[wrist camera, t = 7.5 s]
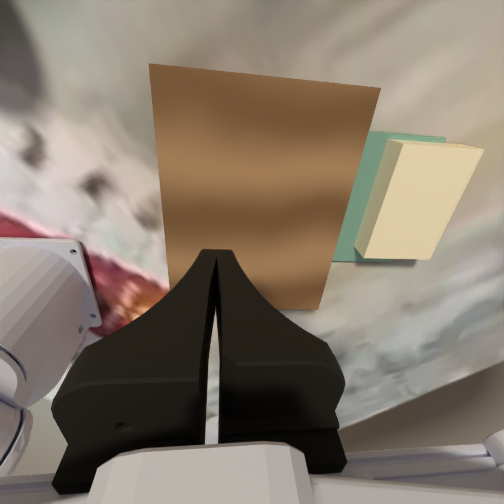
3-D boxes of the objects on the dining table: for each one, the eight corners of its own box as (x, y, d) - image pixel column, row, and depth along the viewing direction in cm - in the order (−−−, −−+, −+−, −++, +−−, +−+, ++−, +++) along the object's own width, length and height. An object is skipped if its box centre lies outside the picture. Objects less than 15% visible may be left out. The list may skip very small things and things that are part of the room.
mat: (391, 260, 26) (392, 262, 25) (310, 258, 25) (311, 260, 25) (443, 137, 20) (445, 138, 20) (341, 128, 19) (342, 129, 19)
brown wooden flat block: (305, 280, 26) (318, 309, 23) (178, 278, 25) (171, 309, 21) (351, 87, 18) (381, 88, 14) (164, 68, 16) (148, 63, 13)
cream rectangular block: (363, 258, 22) (353, 246, 24) (429, 259, 23) (415, 247, 25) (403, 143, 18) (387, 138, 19) (484, 149, 18) (462, 144, 20)
